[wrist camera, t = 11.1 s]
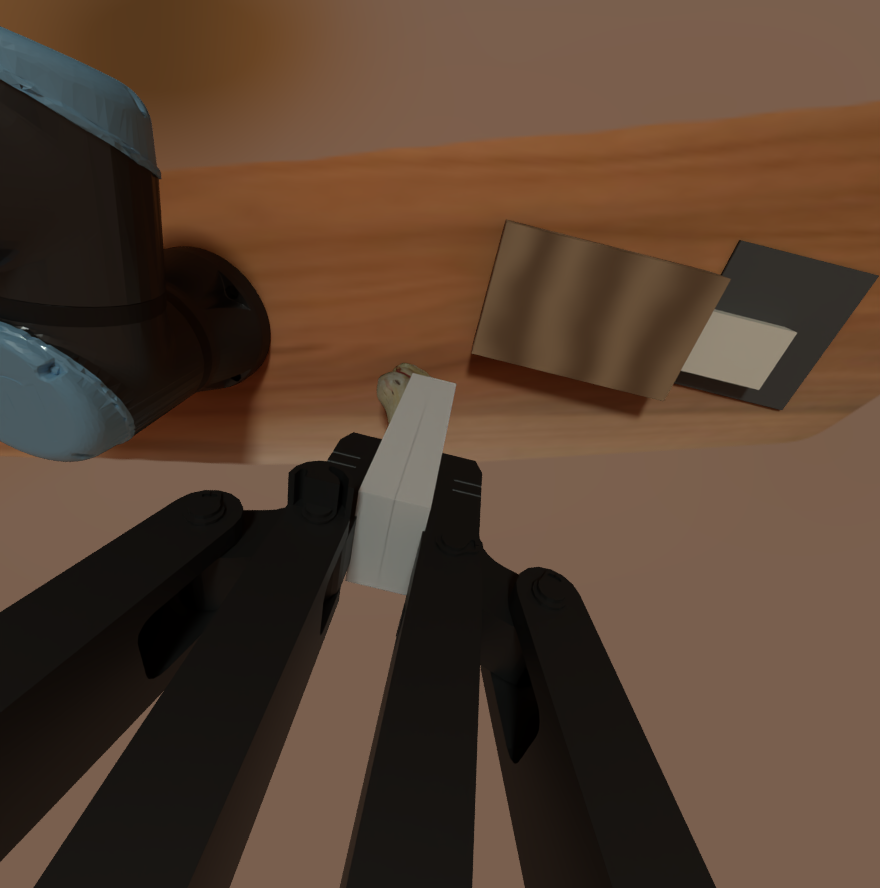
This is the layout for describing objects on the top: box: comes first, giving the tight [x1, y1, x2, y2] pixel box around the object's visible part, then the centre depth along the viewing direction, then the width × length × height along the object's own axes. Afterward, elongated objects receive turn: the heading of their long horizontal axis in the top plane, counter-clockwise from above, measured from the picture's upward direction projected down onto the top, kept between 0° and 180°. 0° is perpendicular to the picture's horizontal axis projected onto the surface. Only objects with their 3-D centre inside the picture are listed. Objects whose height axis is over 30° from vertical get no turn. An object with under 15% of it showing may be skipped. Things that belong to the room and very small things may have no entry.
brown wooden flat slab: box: [472, 220, 731, 401], centre depth 41 cm, size 20×12×4 cm, turn 78°
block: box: [681, 309, 797, 390], centre depth 42 cm, size 9×6×2 cm, turn 78°
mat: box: [674, 240, 879, 410], centre depth 42 cm, size 13×14×1 cm
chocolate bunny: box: [377, 363, 430, 424], centre depth 45 cm, size 6×8×10 cm
